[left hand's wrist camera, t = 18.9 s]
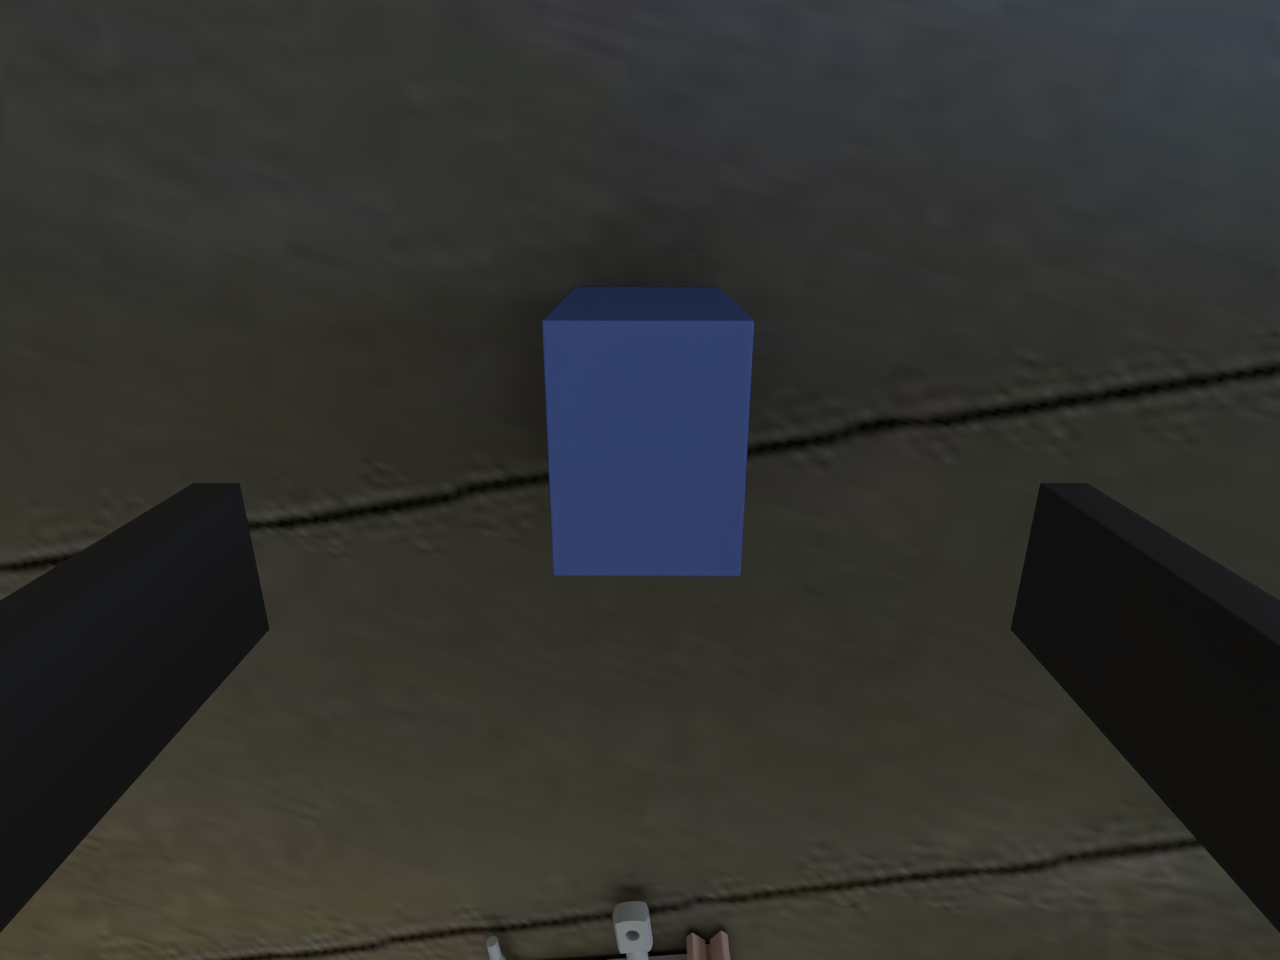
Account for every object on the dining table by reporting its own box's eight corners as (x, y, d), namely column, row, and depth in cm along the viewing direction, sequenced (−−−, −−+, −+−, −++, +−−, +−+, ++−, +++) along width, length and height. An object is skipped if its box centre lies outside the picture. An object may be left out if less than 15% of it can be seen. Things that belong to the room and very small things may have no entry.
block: (719, 286, 25) (754, 320, 17) (712, 470, 27) (740, 577, 19) (574, 286, 25) (541, 320, 17) (579, 469, 27) (553, 576, 19)
